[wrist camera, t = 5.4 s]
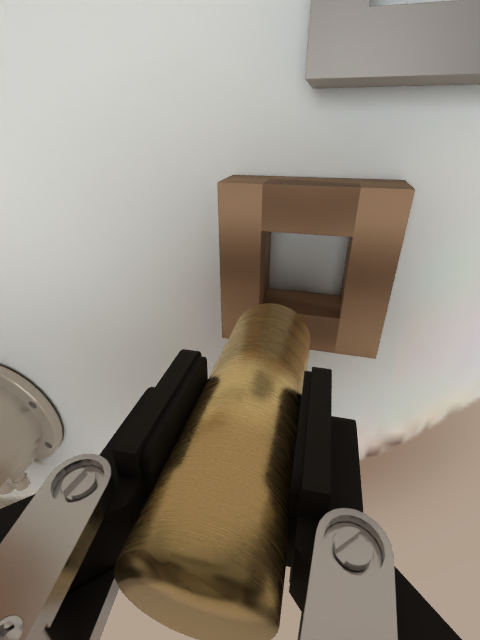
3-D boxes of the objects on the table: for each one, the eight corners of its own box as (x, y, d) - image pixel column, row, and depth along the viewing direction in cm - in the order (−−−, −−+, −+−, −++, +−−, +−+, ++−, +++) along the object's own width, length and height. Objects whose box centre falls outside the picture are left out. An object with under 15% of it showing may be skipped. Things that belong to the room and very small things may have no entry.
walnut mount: (371, 331, 22) (375, 358, 19) (235, 315, 24) (222, 337, 21) (404, 180, 18) (414, 189, 15) (233, 175, 20) (217, 182, 17)
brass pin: (306, 373, 14) (274, 663, 6) (235, 363, 15) (127, 617, 7) (314, 307, 13) (285, 578, 5) (234, 299, 13) (98, 530, 6)
